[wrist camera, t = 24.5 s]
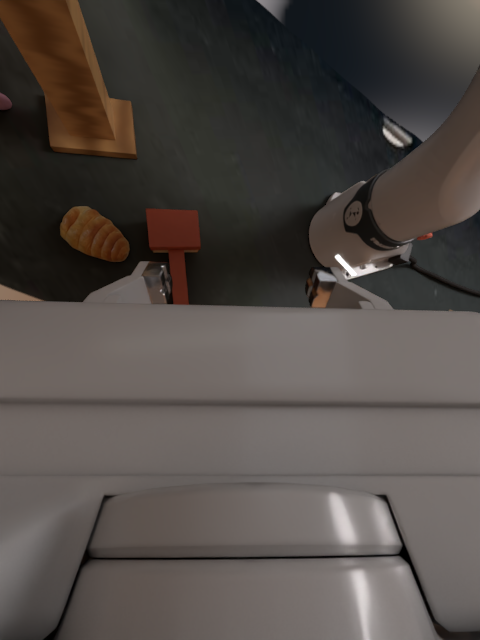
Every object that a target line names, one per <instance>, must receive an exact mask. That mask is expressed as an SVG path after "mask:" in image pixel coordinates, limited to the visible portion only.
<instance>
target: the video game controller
mask: <svg viewBox="0 0 480 640" xmlns="http://www.w3.org/2000/svg"><path fill="white" fill-rule="evenodd" d="M11 106H12V103H11V101H10V100H9V98H8V97H7V96H5V95H4V94H2V93H0V110H7V109H10V108H11Z"/></svg>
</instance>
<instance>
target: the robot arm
mask: <svg viewBox="0 0 480 640" xmlns="http://www.w3.org/2000/svg"><path fill="white" fill-rule="evenodd" d="M479 210H480V66H479V68H478V70H477V72H476V74H475V76H474V78H473V79H472V82H471V83H470V85H469V87H468V88H467V90H466V92H465V94H464V95H463V97H462V98H461V100H460V101H459V103H458V105H457V106H456V107H455V109H454V110H453V112H452V113H451V114H450V116H449V117H448V118H447V119H446V120H445V122H444V123H443V124H442V125H441V126H440V127H439V128H438V129H437V130H436V131H435V132H434V133H433V134H432V135H431V136H430V137H429V138H428V139H427V140H426V141H424V142H423V143H422V144H421V145H420V146H419V147H417V148H416V149H415V150H414V151H412V152H411V153H410V154H409V155H408V156H406V157H405V158H404V159H402V160H401V161H400V162H399V163H397V164H396V165H395V166H393V167H392V168H391V169H387V170H384V171H382V172H381V173H379V174H377V175H375V176H373V177H372V178H371V179H369V180H368V181H367V182H364V181H361V182H359V183H357V184H356V185H354V186H352V187H351V188H349V189H348V190H346V191H345V192H343V193H342V194H341V193H337V192H336V193H334V194H332V195H331V196H330V198H329V199H328V201H327V203H326V205H325V206H324V207H323V208H321V209H320V210H319V211H318V212H317V213H316V214H315V215H314V217H313V219H312V221H311V224H310V228H309V242H310V246H311V249H312V251H313V254H314V255H315V257H316V258H317V260H318V261H319V262H320V263H321V264H322V265H323V266H325V267H311V269H310V271H309V276H310V278H309V279H308V280H307V281H306V286H305V292H306V295H307V296H308V297H309V300H308V301H309V303H310V306H311V308H298V307H257V306H216V305H176V304H167V302H168V300H169V293H171V291H172V287H173V281H172V276H171V275H170V274H169V272H170V266H169V264H168V262H149V261H141V262H139V264H138V265H137V267H136V268H135V270H134V271H133V273H132V274H131V276H126V277H124V278H122V279H120V280H118V281H116V282H114V283H111V284H109V285H107V286H105V287H103V288H101V289H99V290H96V291H94V292H92V293H90V294H89V295H88V296H87V298H86V299H85V300H84V301H83V302H51V301H15V300H0V640H480V313H477V312H468V311H423V310H394V309H393V308H392V307H391V306H390V304H389V303H388V302H387V301H386V300H384V299H382V298H380V297H378V296H376V295H374V294H372V293H370V292H369V291H367V290H365V289H363V288H361V287H359V286H357V285H355V284H353V283H351V282H348V281H347V280H350V279H353V278H357V277H360V276H364V275H367V274H370V273H374V272H377V271H381V270H384V269H387V268H390V267H392V265H393V264H394V265H399V264H403V263H406V262H409V261H411V264H410V265H411V267H413V268H414V269H416V270H417V271H419V272H421V273H424V274H426V275H428V276H431V277H433V278H435V279H437V280H439V281H441V282H443V283H446V284H448V285H450V286H453V287H455V288H458V289H460V290H463V291H466V292H469V293H473V294H476V295H480V292H479V291H476V290H472V289H469V288H466V287H463V286H461V285H458V284H456V283H453V282H451V281H449V280H447V279H445V278H443V277H441V276H439V275H436V274H434V273H432V272H430V271H427V270H425V269H423V268H421V267H419V266H418V265H416V263H417V261H416V259H415V258H414V257H412V256H411V255H410V253H411V249H412V244H411V243H410V242H412V241H413V240H415V239H416V238H417V240H423V239H427V238H430V237H432V232H434V231H437V230H440V229H443V228H446V227H449V226H452V225H454V224H457V223H460V222H462V221H464V220H466V219H468V218H469V217H471V216H472V215H474V214H475V213H476V212H478V211H479ZM346 274H347V276H346Z"/></svg>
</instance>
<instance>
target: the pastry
mask: <svg viewBox="0 0 480 640" xmlns="http://www.w3.org/2000/svg"><path fill="white" fill-rule="evenodd" d="M60 232H61V236H62V238H63V239H65V240H66V241H67V242H68V243H69V245H70V246H71V247H73V248H74V249H77V250H79V251H81V252H83V253H85V254H87V255H90V256H93V257H97V258H100V259H103V260H106V261H110V262H121V261H124V260H125V259H126V258H127V256H128V254H129V250H130V249H129V242H128V241H127V240H126V238H125V237H124V236H123V235H122V233H121V232H120V231H119V230H118V229H117V228H116V227H115V226H114V225H113V223H112V222H111V220H109V219H106V218H105V217H103V216H101V215H100V214H99V213H98V212H97V211H96V210H94V209H91V208H89V207H88V206H79V207H73V208H72V209H71V210H69V211H68V212H67V213H66V215H65V216H64V217H63V221H62V223H61V225H60Z"/></svg>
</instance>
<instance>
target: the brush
mask: <svg viewBox="0 0 480 640" xmlns="http://www.w3.org/2000/svg"><path fill="white" fill-rule="evenodd" d="M146 216H147V226H148V237H149V247H150V249H151V250H153V252H154V253H169V263H170V273H171V276H172V281H173V287H172V294H173V304H176V305H189V301H188V290H187V279H186V269H185V258H184V252H198V250H200V248H201V243H200V233H199V222H198V211H195V210H168V209H146Z"/></svg>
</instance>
